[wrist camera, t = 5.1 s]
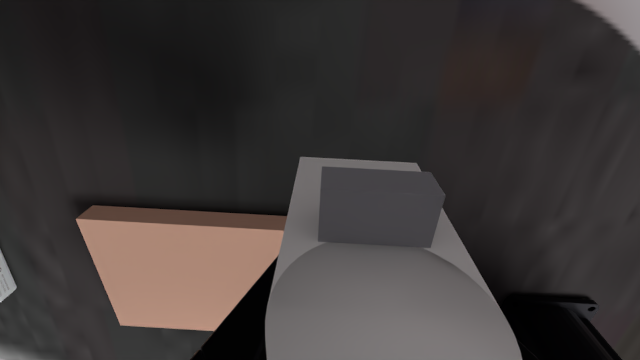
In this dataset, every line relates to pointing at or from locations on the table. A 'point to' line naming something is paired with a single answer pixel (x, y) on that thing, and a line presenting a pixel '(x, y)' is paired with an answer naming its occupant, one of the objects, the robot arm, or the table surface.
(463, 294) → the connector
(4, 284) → the small box
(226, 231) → the terracotta tile
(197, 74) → the table surface
